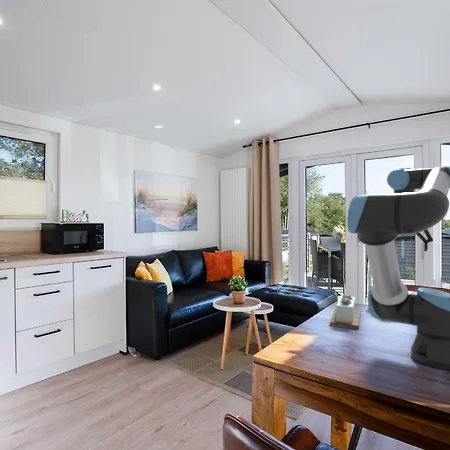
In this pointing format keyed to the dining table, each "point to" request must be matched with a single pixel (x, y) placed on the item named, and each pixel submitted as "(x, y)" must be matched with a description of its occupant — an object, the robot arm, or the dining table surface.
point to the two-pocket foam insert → (345, 310)
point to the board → (346, 324)
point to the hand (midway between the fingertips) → (403, 258)
